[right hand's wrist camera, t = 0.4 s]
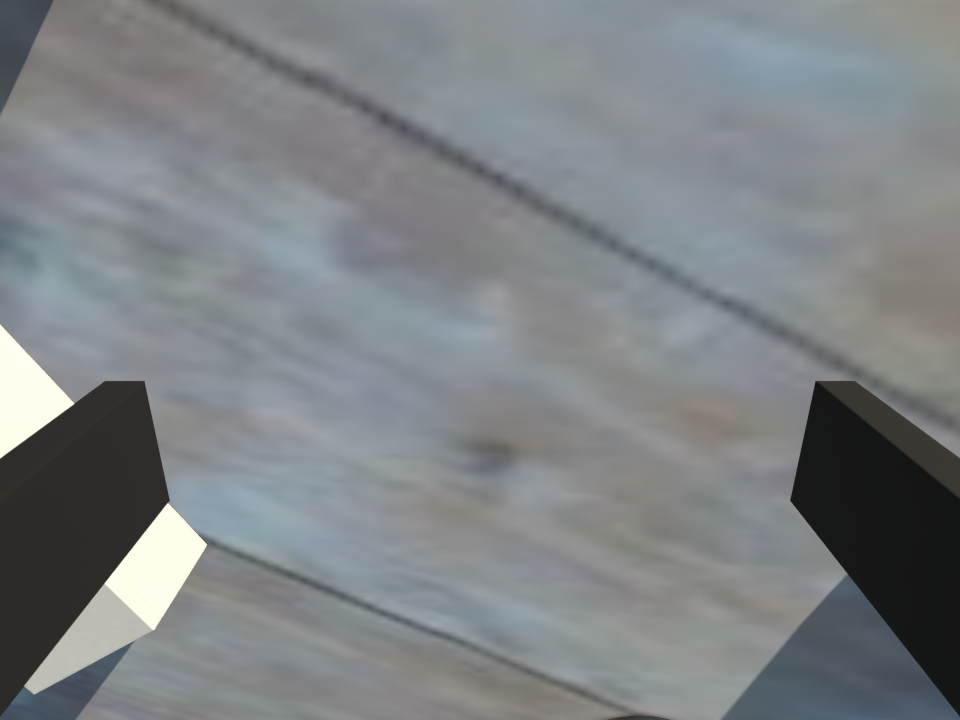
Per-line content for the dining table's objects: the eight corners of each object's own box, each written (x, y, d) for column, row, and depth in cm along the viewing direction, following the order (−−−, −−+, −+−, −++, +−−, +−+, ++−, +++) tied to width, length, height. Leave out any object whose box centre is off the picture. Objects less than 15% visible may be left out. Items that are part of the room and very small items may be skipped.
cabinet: (-117, 394, 43) (-249, 457, 35) (-8, 316, 41) (-122, 365, 33) (104, 602, 49) (33, 695, 42) (207, 544, 47) (154, 630, 40)
